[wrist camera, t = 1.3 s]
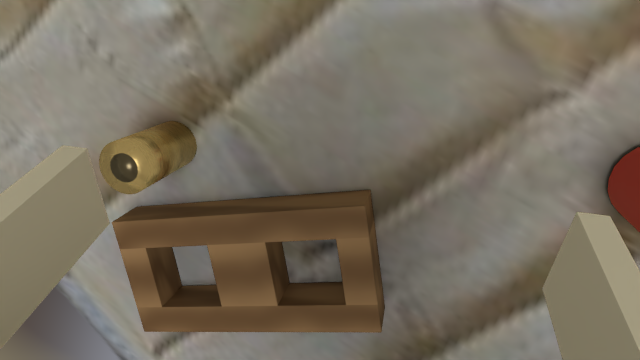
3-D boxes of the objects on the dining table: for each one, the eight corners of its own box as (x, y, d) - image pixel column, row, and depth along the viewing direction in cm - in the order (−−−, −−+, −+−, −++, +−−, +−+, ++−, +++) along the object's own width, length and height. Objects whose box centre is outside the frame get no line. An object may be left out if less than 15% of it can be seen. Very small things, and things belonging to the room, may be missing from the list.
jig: (384, 306, 44) (381, 332, 40) (165, 308, 50) (144, 331, 46) (370, 189, 41) (365, 205, 37) (136, 206, 47) (111, 222, 43)
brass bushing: (201, 164, 44) (155, 192, 36) (160, 168, 45) (107, 196, 37) (190, 118, 42) (141, 138, 35) (149, 123, 43) (92, 143, 36)
